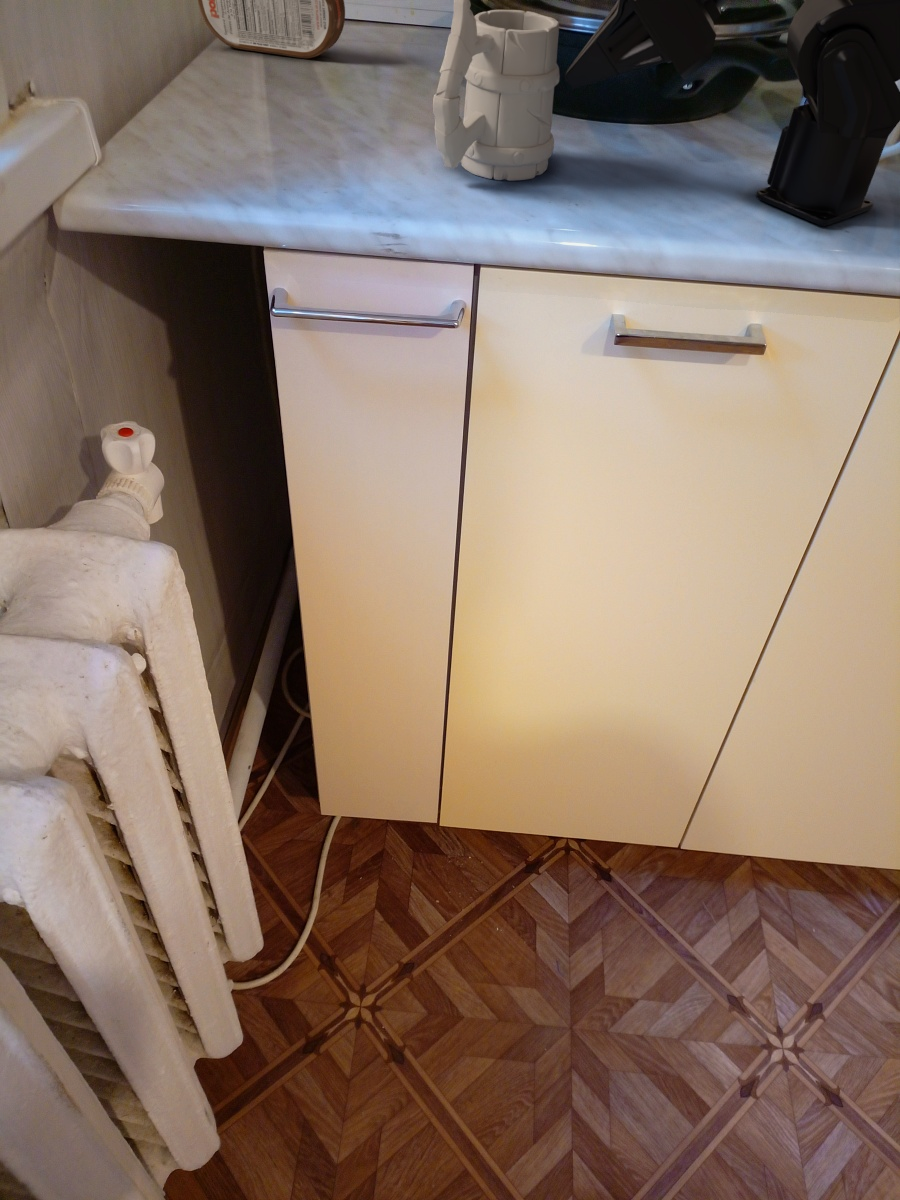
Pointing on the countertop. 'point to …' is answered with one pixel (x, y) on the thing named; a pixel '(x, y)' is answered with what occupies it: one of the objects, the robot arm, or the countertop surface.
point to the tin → (276, 24)
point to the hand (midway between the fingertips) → (568, 82)
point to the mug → (498, 93)
